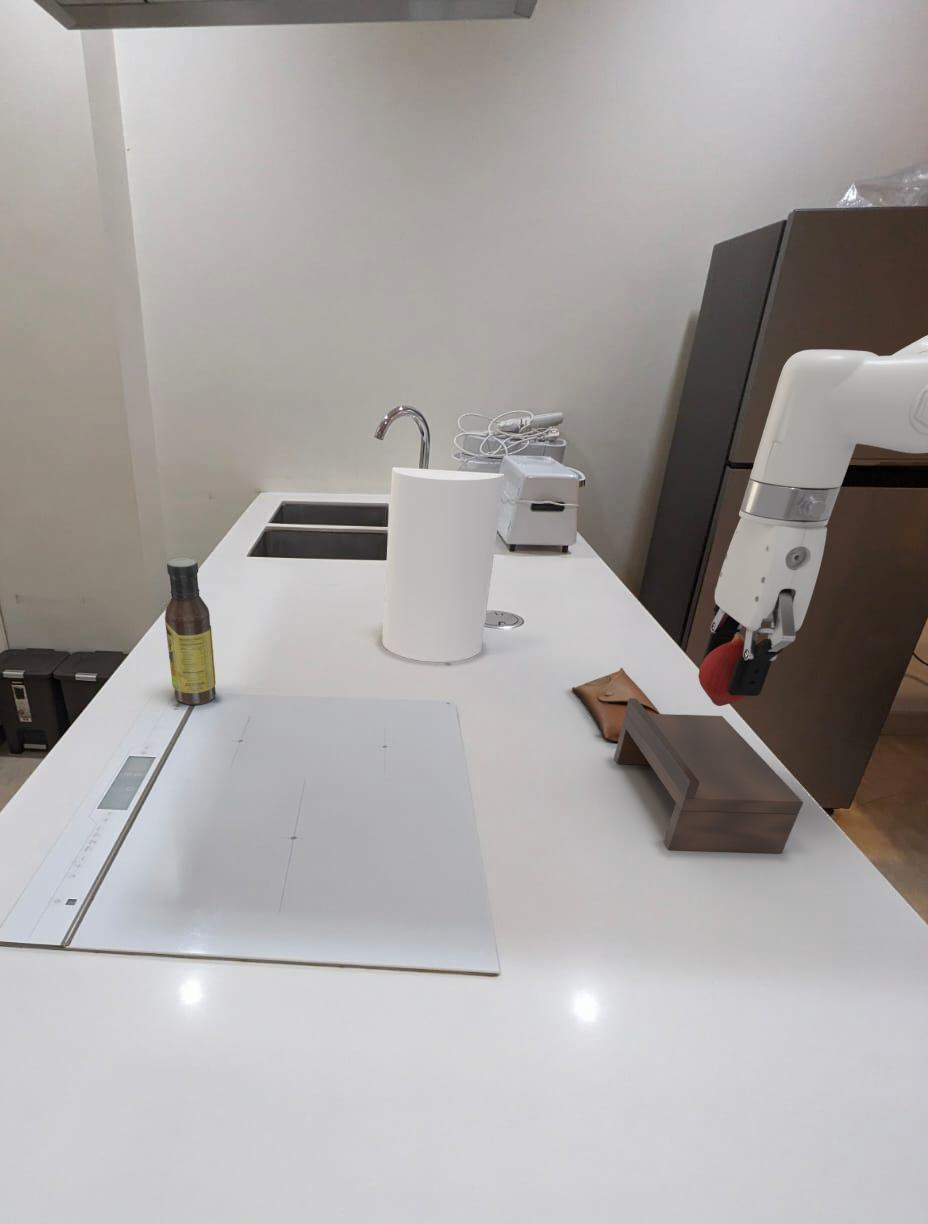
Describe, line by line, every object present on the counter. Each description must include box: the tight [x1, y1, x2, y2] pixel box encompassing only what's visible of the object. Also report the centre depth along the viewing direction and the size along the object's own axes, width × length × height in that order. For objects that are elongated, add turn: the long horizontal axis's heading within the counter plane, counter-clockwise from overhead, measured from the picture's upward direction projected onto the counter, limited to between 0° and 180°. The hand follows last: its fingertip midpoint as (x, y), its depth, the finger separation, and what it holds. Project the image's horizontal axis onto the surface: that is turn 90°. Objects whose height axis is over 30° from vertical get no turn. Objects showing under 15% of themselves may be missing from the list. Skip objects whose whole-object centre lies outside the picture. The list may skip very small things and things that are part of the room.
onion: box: [698, 633, 748, 707], centre depth 79 cm, size 6×6×8 cm
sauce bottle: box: [164, 557, 217, 706], centre depth 105 cm, size 6×6×20 cm
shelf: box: [613, 698, 804, 854], centre depth 86 cm, size 12×20×8 cm, turn 178°
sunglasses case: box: [571, 667, 661, 743], centre depth 107 cm, size 18×7×7 cm
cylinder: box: [381, 466, 506, 663], centre depth 123 cm, size 17×17×28 cm
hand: (729, 679), depth 80 cm, fingers closed on onion, 5 cm apart
